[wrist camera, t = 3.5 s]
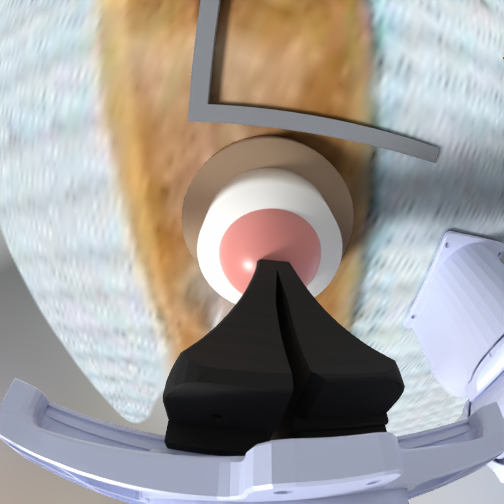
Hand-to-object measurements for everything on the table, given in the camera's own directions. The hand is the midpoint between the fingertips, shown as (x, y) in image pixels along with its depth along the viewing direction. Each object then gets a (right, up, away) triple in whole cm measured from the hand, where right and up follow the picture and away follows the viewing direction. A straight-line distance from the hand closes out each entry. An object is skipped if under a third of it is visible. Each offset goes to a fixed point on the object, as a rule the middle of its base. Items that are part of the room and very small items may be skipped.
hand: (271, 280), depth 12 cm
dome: (0, +2, +4) cm, 5 cm away
